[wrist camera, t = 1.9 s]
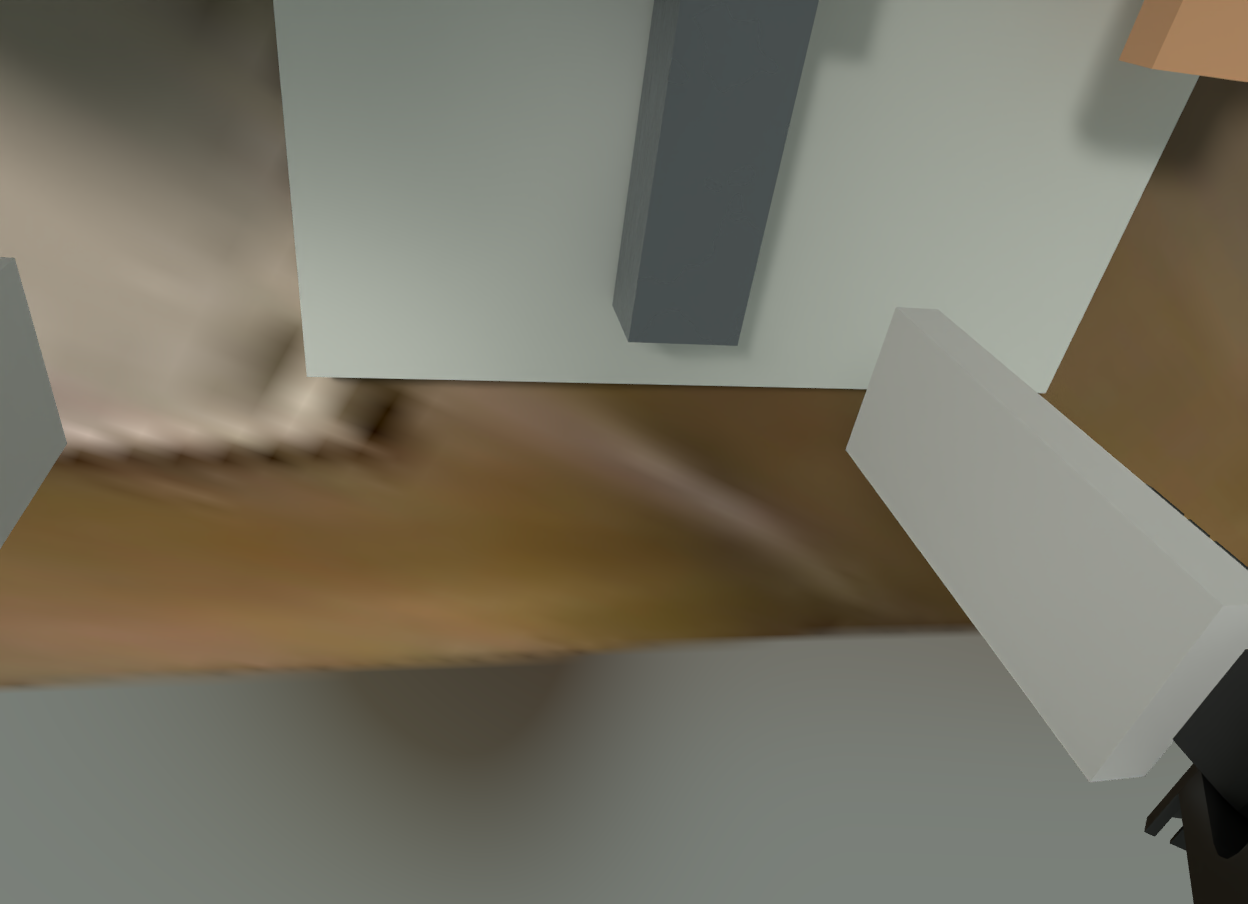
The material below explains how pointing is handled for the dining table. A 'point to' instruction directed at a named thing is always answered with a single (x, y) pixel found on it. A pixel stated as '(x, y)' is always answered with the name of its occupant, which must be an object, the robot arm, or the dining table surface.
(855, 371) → the board
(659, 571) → the dining table surface
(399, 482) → the dining table surface
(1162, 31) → the keeper
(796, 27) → the link
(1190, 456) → the dining table surface
